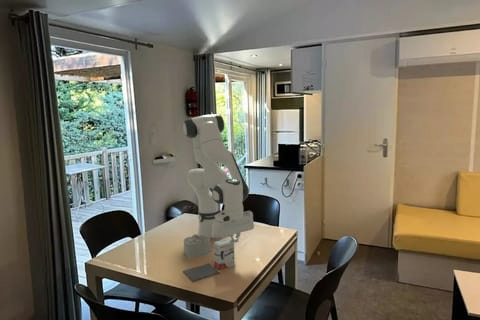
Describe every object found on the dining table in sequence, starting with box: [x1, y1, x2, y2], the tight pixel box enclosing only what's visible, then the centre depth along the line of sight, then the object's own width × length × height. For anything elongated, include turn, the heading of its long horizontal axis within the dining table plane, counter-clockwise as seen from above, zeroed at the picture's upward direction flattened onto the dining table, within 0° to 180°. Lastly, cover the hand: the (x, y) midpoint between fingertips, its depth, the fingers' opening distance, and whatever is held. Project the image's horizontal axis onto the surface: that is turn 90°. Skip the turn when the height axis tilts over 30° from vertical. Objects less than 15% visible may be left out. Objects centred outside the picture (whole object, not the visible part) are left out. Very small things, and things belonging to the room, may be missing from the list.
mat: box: [182, 263, 221, 282], centre depth 153 cm, size 13×11×1 cm
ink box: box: [213, 238, 236, 271], centre depth 159 cm, size 8×5×12 cm, turn 123°
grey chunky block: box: [183, 233, 212, 259], centre depth 174 cm, size 10×13×9 cm
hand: (234, 242), depth 161 cm, fingers closed
